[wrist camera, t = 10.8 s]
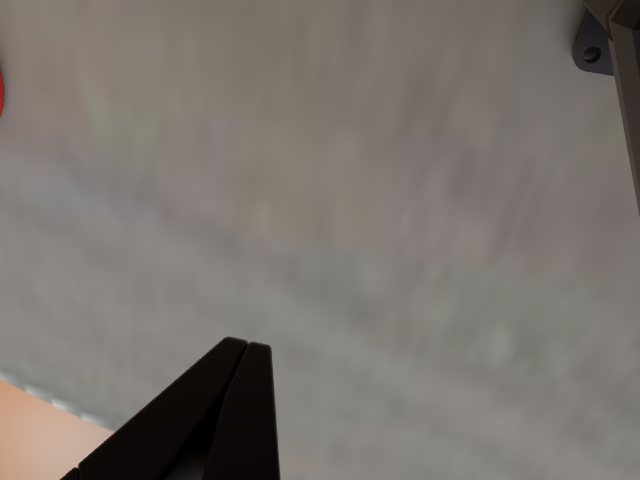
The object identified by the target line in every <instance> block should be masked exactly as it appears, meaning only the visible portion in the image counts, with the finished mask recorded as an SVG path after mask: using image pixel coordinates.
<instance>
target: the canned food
mask: <svg viewBox="0 0 640 480" xmlns="http://www.w3.org/2000/svg"><path fill="white" fill-rule="evenodd" d="M3 103H4V88H3V81H2V75H1V72H0V116H1V113H2V110H3Z"/></svg>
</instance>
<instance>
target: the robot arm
mask: <svg viewBox="0 0 640 480" xmlns="http://www.w3.org/2000/svg"><path fill="white" fill-rule="evenodd" d="M582 1H583V3H584V5H585V7H586V8H587V12H586V14H585V17H584V20H583V22H582V25H581V28H580V30H579V33H578V36H577V38H576V41H575V44H574V46H573V50H572V58H573V61H574V63H575V64H576V66H577V67H578V68H579V69H581V70H584V71H587V72H593V73H599V74H605V75H611V76H615V81H616V87H617V93H618V98H619V104H620V109H621V115H622V120H623V126H624V132H625V137H626V143H627V148H628V154H629V159H630V165H631V171H632V176H633V182H634V187H635V193H636V198H637V204H638V210H639V215H640V0H582ZM594 46H596V47H598V53H597V54H596V56H595V57H593V58H592V59H584V58H583V53H584V52H585V50H586V49H588V48H589V47H594ZM60 480H280V465H279V451H278V437H277V423H276V408H275V394H274V380H273V365H272V351H271V347H270V346H269V345H267V344H262V343H257V342H250V343H249V344H248V342H247V341H246V340H243V339H239V338H234V337H226V338H224V339H223V340H222V341H220V342H219V343H218V344H217V345H216V346H215V347H213V348H212V349H211V350H210V351H209V352H208V353H206V354H205V355H204V356H203V357H202V358H201V359H200V360H198V361H197V362H196V363H195V364H194V365H193V366H191V367H190V368H189V369H188V370H187V371H186V372H184V373H183V374H182V375H181V376H180V377H179V378H178V379H176V380H175V381H174V382H173V383H172V384H171V385H169V386H168V387H167V388H166V389H165V390H164V391H162V392H161V393H160V394H159V395H158V396H157V397H155V398H154V399H153V400H152V401H151V402H150V403H149V404H147V405H146V406H145V407H144V408H143V409H142V410H140V411H139V412H138V413H137V414H136V415H135V416H133V417H132V418H131V419H130V420H129V421H128V422H126V423H125V424H124V425H123V426H122V427H121V428H120V429H118V430H117V431H116V432H115V433H114V434H113V435H111V436H110V437H109V438H108V439H107V440H106V441H104V443H102V444H101V445H100V446H99V447H98V448H96V449H95V450H94V451H93V452H92V453H91V454H89V455H88V456H87V457H86V458H85V459H84V460H83V461H81V462H80V463H79V464H78V468H76V467H74V468H73V469H72V470H70V471H69V472H68V473H67V474H66V475H65V476H64V477H63V478H61V479H60Z"/></svg>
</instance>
